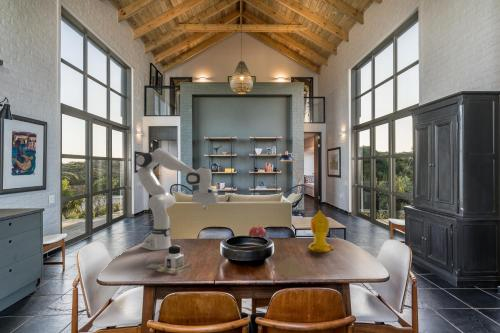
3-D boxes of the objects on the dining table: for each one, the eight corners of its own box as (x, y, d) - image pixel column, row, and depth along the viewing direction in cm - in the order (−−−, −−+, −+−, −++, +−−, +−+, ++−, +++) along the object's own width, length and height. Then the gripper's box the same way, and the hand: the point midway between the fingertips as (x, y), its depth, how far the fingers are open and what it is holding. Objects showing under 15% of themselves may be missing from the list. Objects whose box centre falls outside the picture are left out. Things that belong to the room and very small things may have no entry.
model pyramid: (295, 265, 172) (295, 248, 172) (313, 275, 157) (313, 256, 157) (270, 269, 165) (270, 252, 165) (287, 279, 150) (287, 260, 150)
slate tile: (146, 269, 165) (146, 266, 165) (152, 266, 171) (152, 263, 171) (155, 270, 163) (155, 267, 164) (161, 266, 169) (161, 264, 169)
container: (175, 272, 159) (175, 248, 159) (164, 270, 162) (164, 247, 163) (184, 267, 166) (184, 245, 166) (173, 266, 169) (173, 243, 170)
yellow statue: (332, 245, 219) (332, 208, 219) (333, 254, 195) (333, 212, 196) (309, 243, 223) (309, 207, 224) (307, 252, 200) (307, 211, 200)
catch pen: (156, 270, 161) (156, 266, 161) (172, 264, 173) (172, 260, 173) (176, 274, 155) (176, 270, 155) (191, 267, 167) (191, 263, 167)
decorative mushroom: (257, 242, 226) (257, 223, 226) (270, 245, 217) (270, 225, 217) (245, 245, 216) (245, 225, 217) (258, 249, 207) (258, 228, 207)
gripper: (190, 189, 205) (190, 209, 204) (214, 190, 196) (214, 211, 196) (195, 189, 210) (195, 208, 210) (219, 190, 202) (219, 209, 201)
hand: (205, 209), depth 203 cm, fingers closed
